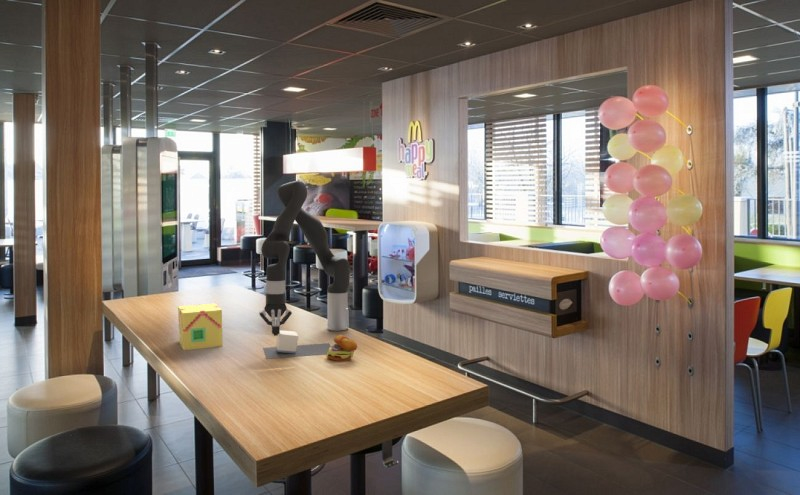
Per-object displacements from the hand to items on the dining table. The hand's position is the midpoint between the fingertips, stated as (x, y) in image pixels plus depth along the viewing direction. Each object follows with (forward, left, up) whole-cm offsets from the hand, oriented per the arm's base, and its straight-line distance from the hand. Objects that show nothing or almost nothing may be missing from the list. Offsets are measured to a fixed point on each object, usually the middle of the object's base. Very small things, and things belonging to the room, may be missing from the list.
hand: (275, 335), depth 228 cm
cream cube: (-4, 0, -6) cm, 7 cm away
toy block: (+28, -23, -8) cm, 37 cm away
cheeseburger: (-23, +14, -8) cm, 28 cm away
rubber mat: (-9, 0, -7) cm, 12 cm away
